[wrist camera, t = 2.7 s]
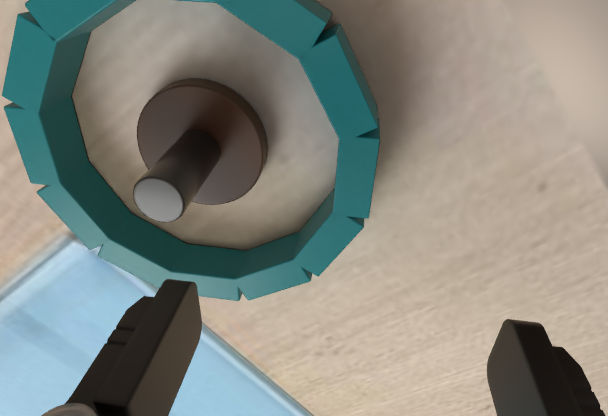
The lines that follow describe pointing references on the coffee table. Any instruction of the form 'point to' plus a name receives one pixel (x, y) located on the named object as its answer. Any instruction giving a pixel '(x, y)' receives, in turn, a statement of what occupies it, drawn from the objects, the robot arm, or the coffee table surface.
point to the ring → (144, 236)
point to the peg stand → (197, 148)
